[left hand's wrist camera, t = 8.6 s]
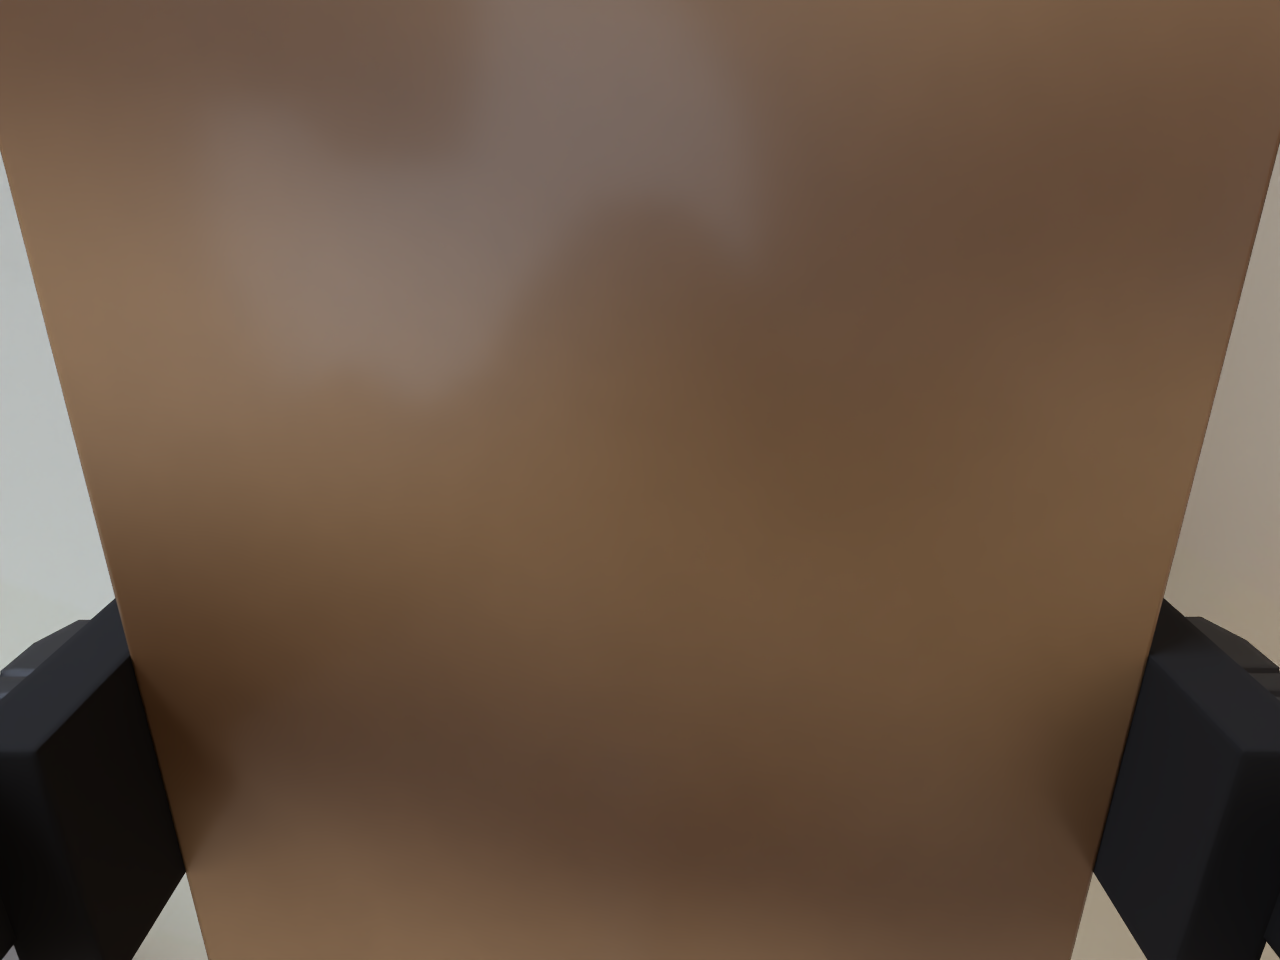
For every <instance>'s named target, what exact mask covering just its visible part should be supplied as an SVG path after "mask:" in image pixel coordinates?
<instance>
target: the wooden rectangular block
mask: <svg viewBox="0 0 1280 960" xmlns="http://www.w3.org/2000/svg"><path fill="white" fill-rule="evenodd" d="M1279 144H1280V0H0V151H1V154H2V158H3V162H4V166H5V170H6V174H7V178H8V182H9V186H10V189H11V193H12V197H13V201H14V205H15V209H16V213H17V217H18V221H19V224H20V228H21V232H22V236H23V240H24V244H25V248H26V252H27V256H28V259H29V263H30V267H31V271H32V275H33V279H34V283H35V287H36V291H37V294H38V298H39V302H40V306H41V310H42V314H43V318H44V322H45V326H46V330H47V333H48V337H49V341H50V345H51V349H52V353H53V357H54V361H55V365H56V368H57V372H58V376H59V380H60V384H61V388H62V392H63V396H64V400H65V403H66V407H67V411H68V415H69V419H70V423H71V427H72V431H73V435H74V438H75V442H76V446H77V450H78V454H79V458H80V462H81V466H82V470H83V473H84V477H85V481H86V485H87V489H88V493H89V497H90V501H91V505H92V508H93V512H94V516H95V520H96V524H97V528H98V532H99V536H100V540H101V544H102V547H103V551H104V555H105V559H106V563H107V567H108V571H109V575H110V579H111V582H112V586H113V590H114V594H115V598H116V602H117V606H118V610H119V614H120V617H121V621H122V625H123V629H124V633H125V637H126V641H127V645H128V649H129V652H130V656H131V660H132V664H133V668H134V672H135V676H136V680H137V684H138V687H139V691H140V695H141V699H142V703H143V707H144V711H145V715H146V719H147V722H148V726H149V730H150V734H151V738H152V742H153V746H154V750H155V754H156V757H157V761H158V765H159V769H160V773H161V777H162V781H163V785H164V789H165V793H166V796H167V800H168V804H169V808H170V812H171V816H172V820H173V824H174V828H175V831H176V835H177V839H178V843H179V847H180V851H181V855H182V859H183V863H184V866H185V870H186V874H187V878H188V882H189V886H190V890H191V894H192V898H193V901H194V905H195V909H196V913H197V917H198V921H199V925H200V929H201V933H202V936H203V940H204V944H205V948H206V952H207V956H208V960H1071V956H1072V952H1073V948H1074V944H1075V940H1076V936H1077V933H1078V929H1079V925H1080V921H1081V917H1082V913H1083V909H1084V905H1085V901H1086V897H1087V893H1088V890H1089V886H1090V882H1091V878H1092V874H1093V870H1094V866H1095V862H1096V858H1097V854H1098V850H1099V847H1100V843H1101V839H1102V835H1103V831H1104V827H1105V823H1106V819H1107V815H1108V811H1109V808H1110V804H1111V800H1112V796H1113V792H1114V788H1115V784H1116V780H1117V776H1118V772H1119V768H1120V765H1121V761H1122V757H1123V753H1124V749H1125V745H1126V741H1127V737H1128V733H1129V729H1130V726H1131V722H1132V718H1133V714H1134V710H1135V706H1136V702H1137V698H1138V694H1139V690H1140V686H1141V683H1142V679H1143V675H1144V671H1145V667H1146V663H1147V659H1148V655H1149V651H1150V647H1151V643H1152V640H1153V636H1154V632H1155V628H1156V624H1157V620H1158V616H1159V612H1160V608H1161V604H1162V601H1163V597H1164V593H1165V589H1166V585H1167V581H1168V577H1169V573H1170V569H1171V565H1172V561H1173V558H1174V554H1175V550H1176V546H1177V542H1178V538H1179V534H1180V530H1181V526H1182V522H1183V519H1184V515H1185V511H1186V507H1187V503H1188V499H1189V495H1190V491H1191V487H1192V483H1193V479H1194V476H1195V472H1196V468H1197V464H1198V460H1199V456H1200V452H1201V448H1202V444H1203V440H1204V437H1205V433H1206V429H1207V425H1208V421H1209V417H1210V413H1211V409H1212V405H1213V401H1214V397H1215V394H1216V390H1217V386H1218V382H1219V378H1220V374H1221V370H1222V366H1223V362H1224V358H1225V354H1226V351H1227V347H1228V343H1229V339H1230V335H1231V331H1232V327H1233V323H1234V319H1235V315H1236V312H1237V308H1238V304H1239V300H1240V296H1241V292H1242V288H1243V284H1244V280H1245V276H1246V272H1247V269H1248V265H1249V261H1250V257H1251V253H1252V249H1253V245H1254V241H1255V237H1256V233H1257V230H1258V226H1259V222H1260V218H1261V214H1262V210H1263V206H1264V202H1265V198H1266V194H1267V190H1268V187H1269V183H1270V179H1271V175H1272V171H1273V167H1274V163H1275V159H1276V155H1277V151H1278V148H1279Z"/></svg>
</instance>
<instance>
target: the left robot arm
mask: <svg viewBox="0 0 1280 960" xmlns="http://www.w3.org/2000/svg"><path fill="white" fill-rule="evenodd" d="M185 872H186V870H185V866H184V863H183V859H182V855H181V851H180V847H179V843H178V839H177V835H176V831H175V828H174V824H173V820H172V816H171V812H170V808H169V804H168V800H167V796H166V793H165V789H164V785H163V781H162V777H161V773H160V769H159V765H158V761H157V757H156V754H155V750H154V746H153V742H152V738H151V734H150V730H149V726H148V722H147V719H146V715H145V711H144V707H143V703H142V699H141V695H140V691H139V687H138V684H137V680H136V676H135V672H134V668H133V664H132V660H131V656H130V652H129V649H128V645H127V641H126V637H125V633H124V629H123V625H122V621H121V617H120V614H119V610H118V606H117V602H116V598H115V599H114V600H113V601H112V602H110V603H109V604H108V605H107V606H106V607H105V608H104V609H103V610H101V611H100V612H99V613H98V614H97V615H96V616H95V617H94V618H92V619H91V620H78V621H76V622H74V623H72V624H70V625H68V626H66V627H64V628H62V629H60V630H59V631H57V632H55V633H53V634H51V635H49V636H47V637H45V638H43V639H41V640H39V641H37V642H35V643H34V644H32V645H31V646H30V647H29V648H28V649H26V650H25V651H24V652H23V653H22V654H20V655H19V656H18V657H17V658H16V659H14V660H13V661H12V662H11V663H10V664H8V665H7V666H6V667H5V668H4V669H3V670H1V674H0V960H2V959H3V958H4V957H5V955H6V954H7V953H8V951H9V950H10V949H11V947H12V946H13V945H14V947H15V950H16V953H17V955H18V958H19V960H132V958H133V957H134V955H135V953H136V952H137V950H138V949H139V947H140V945H141V944H142V942H143V940H144V939H145V937H146V936H147V934H148V932H149V931H150V929H151V927H152V926H153V924H154V923H155V921H156V919H157V918H158V916H159V914H160V913H161V911H162V910H163V908H164V906H165V905H166V903H167V901H168V900H169V898H170V897H171V895H172V893H173V892H174V890H175V888H176V887H177V885H178V884H179V882H180V880H181V879H182V877H183V875H184V874H185ZM1093 872H1094V874H1095V875H1096V877H1097V879H1098V880H1099V882H1100V883H1101V885H1102V887H1103V888H1104V890H1105V892H1106V893H1107V895H1108V896H1109V898H1110V900H1111V901H1112V903H1113V905H1114V906H1115V908H1116V909H1117V911H1118V913H1119V914H1120V916H1121V918H1122V919H1123V921H1124V922H1125V924H1126V926H1127V927H1128V929H1129V931H1130V932H1131V934H1132V935H1133V937H1134V939H1135V940H1136V942H1137V944H1138V945H1139V947H1140V948H1141V950H1142V952H1143V953H1144V955H1145V957H1146V958H1147V960H1260V958H1261V955H1262V952H1263V949H1264V947H1265V944H1266V941H1267V943H1268V944H1269V945H1270V946H1271V948H1272V949H1273V950H1274V952H1275V953H1276V954H1277V955H1278V957H1279V958H1280V671H1279V667H1278V666H1277V665H1275V664H1274V663H1273V662H1272V661H1271V660H1269V659H1268V658H1267V657H1266V656H1265V655H1263V654H1262V653H1261V652H1260V651H1259V650H1257V649H1256V648H1255V647H1254V646H1253V645H1251V644H1250V643H1249V642H1248V641H1247V640H1245V639H1243V638H1241V637H1239V636H1237V635H1235V634H1233V633H1231V632H1229V631H1227V630H1225V629H1223V628H1222V627H1220V626H1218V625H1216V624H1214V623H1212V622H1210V621H1208V620H1206V619H1204V618H1202V617H1184V616H1183V615H1182V614H1181V613H1180V612H1179V611H1178V610H1176V609H1175V608H1174V607H1173V606H1172V605H1171V604H1170V603H1168V602H1167V601H1166V600H1165V599H1164V598H1163V601H1162V604H1161V608H1160V612H1159V616H1158V620H1157V624H1156V628H1155V632H1154V636H1153V640H1152V643H1151V647H1150V651H1149V655H1148V659H1147V663H1146V667H1145V671H1144V675H1143V679H1142V683H1141V686H1140V690H1139V694H1138V698H1137V702H1136V706H1135V710H1134V714H1133V718H1132V722H1131V726H1130V729H1129V733H1128V737H1127V741H1126V745H1125V749H1124V753H1123V757H1122V761H1121V765H1120V768H1119V772H1118V776H1117V780H1116V784H1115V788H1114V792H1113V796H1112V800H1111V804H1110V808H1109V811H1108V815H1107V819H1106V823H1105V827H1104V831H1103V835H1102V839H1101V843H1100V847H1099V850H1098V854H1097V858H1096V862H1095V866H1094V870H1093Z"/></svg>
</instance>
